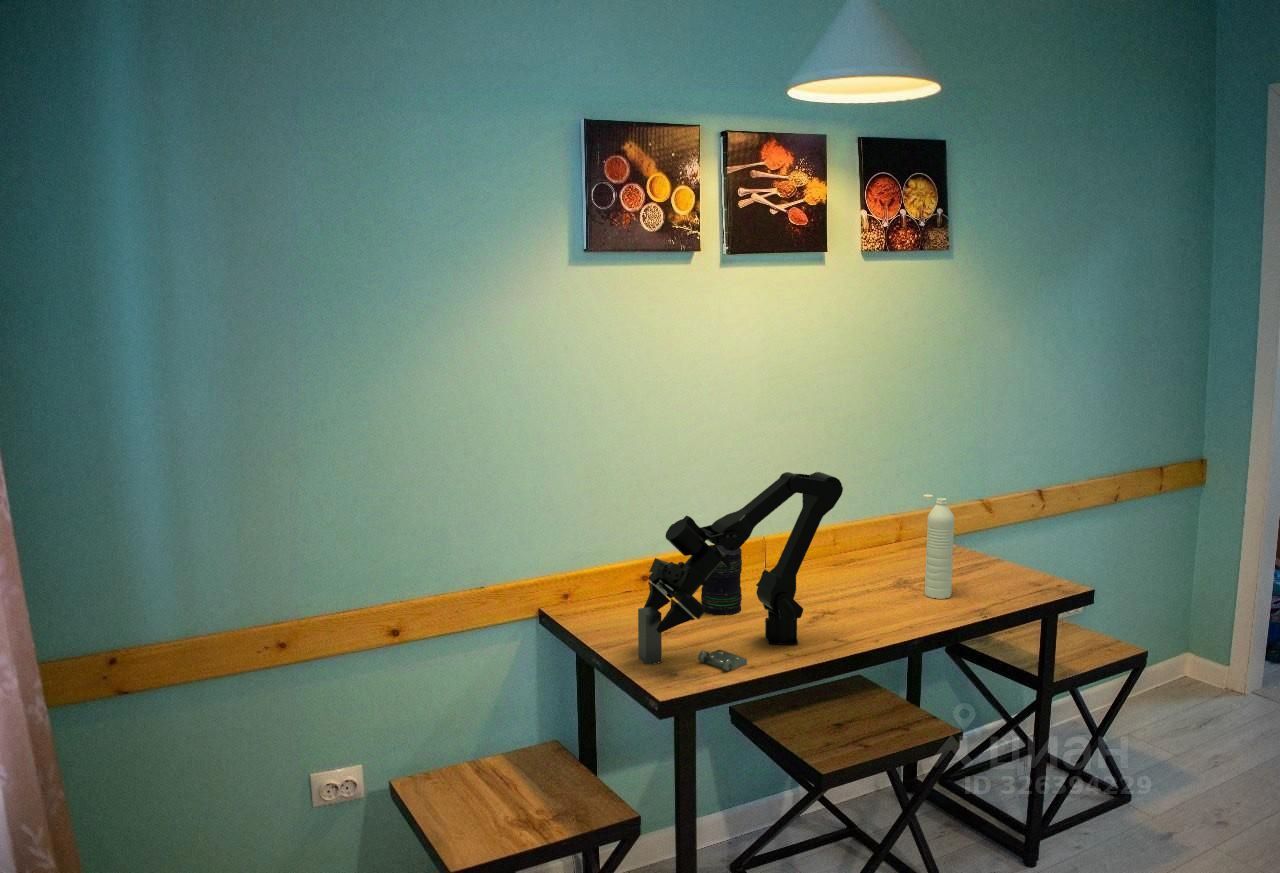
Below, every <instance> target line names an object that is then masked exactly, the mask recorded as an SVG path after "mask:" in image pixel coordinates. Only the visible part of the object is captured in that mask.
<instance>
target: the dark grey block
mask: <svg viewBox="0 0 1280 873" xmlns="http://www.w3.org/2000/svg"><path fill="white" fill-rule="evenodd" d="M661 621H662V612H661V611H660V610H657V609H656V608H654V607H647V608H644V607H641V608H637V628H638V629H637V632H638V633H637V639H638V640H637V641H638V644H637V645H638V647H637V648H638V649H637V651H638V657H639V658H640V659H641V660H642V661H643V662H644V663H645V664H651V665H655V664H654V663H658V662H662V661H663V660H662V659H663V658H662V656H663V655H662V654H663V653H662V646H663V645H662V642H663V641H662V640H663V638H662V633H659V632H658V631H656V629H657V627H658V626H659V624H660V623H661ZM639 658H638V659H639ZM640 659H639V660H640ZM641 660H640V661H641ZM642 661H641V662H642ZM643 662H642V663H643ZM644 663H643V664H644ZM645 664H644V665H645ZM658 664H659V663H658Z"/></svg>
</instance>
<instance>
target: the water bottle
mask: <svg viewBox="0 0 1280 873" xmlns="http://www.w3.org/2000/svg"><path fill="white" fill-rule="evenodd" d="M922 499H923V500H924V501H925V500H926V501H932V500H934V495H932V494H923V495H922ZM935 503H936V504H935V505H934V507H933V508H932V509H931V511H930V512H929V513H928V515H927V528H926V529H927V530H926V531H927V532H926V533H927V534H926V549H925V551H926V556H925V562H926V563H925V573H924V574H925V579H924V581H925V582H924V583H925V585H924V595H925V596H926V597H927V598H931V599H934V598H936V599H937V600H944V599H946V598H947V599H949V598H951V597H952V591H953V590H952V584H953V579H952V578H953V563H954V562H953V561H954V557H953V556H954V537H955V536H954V535H955V534H954V533H955V528H954V527H955V516H954V514H953V512H952V510H951V509H950V507H949V506H948V502H947V498H944V497H938V498H936V501H935Z"/></svg>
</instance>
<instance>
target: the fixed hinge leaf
mask: <svg viewBox="0 0 1280 873" xmlns="http://www.w3.org/2000/svg"><path fill="white" fill-rule="evenodd" d="M697 657H698V658H697V659H698V661H699V662H701V663H703V664H708V665H710V664H711V665H710V666H713V665H714V667H716V668H719V669H722V670H723V671H725V672H730V671H731V672H732V671H734V670H736V669H739V668H741V667H743V666H746V665H747V663H748V658H746V657H744V656H743V657H742V656H740V655H736V654H735V653H731V652H729V651H726V650H722V649H717V650H715V651H711V652H708V651H705V650H701V651H700V652H699V653H698V656H697ZM733 669H734V670H733Z"/></svg>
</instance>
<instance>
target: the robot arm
mask: <svg viewBox="0 0 1280 873" xmlns="http://www.w3.org/2000/svg"><path fill="white" fill-rule="evenodd" d="M843 491H844V487H843V485H842V482H841V481H840V479H839V478H837V477H836V476H833V475H830V474H827V473H824V472H821V471H816V472H814V473H811V474H805V473H792V472H789V471H787V472H786V471H785V472H783V473H782V474H781V475H780V476H779V478H778V479H776V480H775V481H774V482H773V483H772V484H770V485H769V486H768V487H767V488H765V489H763V491H762V492H760V494H758V495H757V496H756V497H754V498H753V499H752V500H751V501H749V502H748V503H747V504H746V505H744V506H743V507H742V508H740V509H739V510H736V511H734V512H730V513H728V514H725V515H724V516H722V517H720V518H718V519H717V520H715V521H714V522H713V523H712V524H709V525H706V526H705V525H704V526H702V527H700V525H698V524H697V523H696V521H695V520H694V519H693V518H692V517H691V516H689V515H685V516H684V517H683V518H682V519H679V520H677V521H675V522H674V523H672V524H671V525H670V526H669V527H668V529H667V530H666V532H665V539H666V540H667V541H668V542H669V543H670V544H671V545H672V546H673V547H674V548H675V549H676V550H677V551H678V552H680V554H682V555H683V556H685V557H688V556H690V557H689V558H688V559H687V560H686V561H685V562H683V561H680V562H678V563H674V562H673V561H670V562H668V561H665V560H662V559H659V558H656V557H654V559H653V562H652V564H651V566H650V569H649V571H648V572H649V573H650V575H649V576H648V577H647V579H648V580H649V581H648V583H647V584H648V588H649V594H648V597H647V599H646V601H645V603H644V606H643V608H647V607H654V608H656V609H657V610H658V611H660V609H662V608H663V607H665V606H666V605H668V604H669V603H670V608H669V610H668V612H667V613H666V615H664V617H663V618H662V619H661V623H660V624H659V626H658V627H657V629H656V631H658V632H659V633H661V634H662V633H664V632H666V631H668V630H670V629H673V628H675V627H677V626H679V625H681V624H685V623H687V622H690V621H694V620H695V618H696V619H697V620H700V619H701V618H702V616H703V615H704V614H705V612H704V606H703V605H702V602H701V601H699V600H698V599H697V598H695V597H694V595H695V594H696V592H697V591H698V590H699V589H700V588H701V587H702V586H704V587H705V586H706V585H707V584H708V583H707V582H706V581H705V580H706V579H707V578H708V577H709V576H710V575H711V573H712V572H713V571H714V570H715V569H716V568H717V566H718V565H719V564H720V563H722V564H724V565H725V566H727V567H730V560H729V557H730V554H728V553H726V552H721V551H720V550H719V549H718V548H717V547H716V546H715V545H718V546H721V547H722V548H724V549H726V550H729V551H735V550H737V549H739V548H741V547H742V546H743V545H744V544H745V543H746V542H747V540H749V538H750V537H751V534H752V532H753V530H754V529H755V528H756V526H757V525H758V524H759V523H761V522H762V521H763V520H764V519H766V518H767V517H768V516H770V514H772V513H773V512H775V510H777V509H778V508H779V507H780V506H782V505H783V503H785V502H786V501H788V500H789V499H790V498H791V497H793V496H794V495H795V494H802V496H801V497H802V507H801V510H800V512H799V514H798V517H797V519H796V521H795V524H794V526H793V527H792V530H791V532H790V535H789V537H788V539H787V541H786V544H785V545H784V548H783V550H782V552H781V554H780V556H779V558H778V561H777V563H776V565H775V566H774V567H773V568H772V569H771V570H767V569H764V570H763V571H762V573H761V576H760V579H759V581H758V582H757V583H756V584H755V585H756V587H757V588H756V596H757V600H758V601H759V602H760V603H762V605H763V609H764V610H766V611H767V617H765V619H764V624H765V625H764V637H765V639H766V640H767V644H769V645H784V646H785V645H786V646H787V645H788V646H789V645H790V646H791V645H792V646H793V645H794V646H796V645H799V641H798V619H801V618H802V616H803V612H804V608H803V606H802V605H800V604H799V603H798V602H797V601H796V600H795V595H796V594H797V593H796V592H797V575H798V572H799V570H800V568H801V565H802V564H803V561H804V559H805V557H806V555H807V552H808V550H809V548H810V546H811V543H812V541H813V539H814V538H815V535H816V533H817V531H818V528H819V526H820V524H821V521H822V520H823V517H825V515H827V514H828V513H829V512H831V510H832V509H834V508H835V506H836V504H837V503H838V501H839V500H840V498H841V496H842V494H843ZM706 541H707V542H709V543H712V544H710V545H709V544H708V543H707V542H706ZM673 598H674V599H673Z"/></svg>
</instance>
